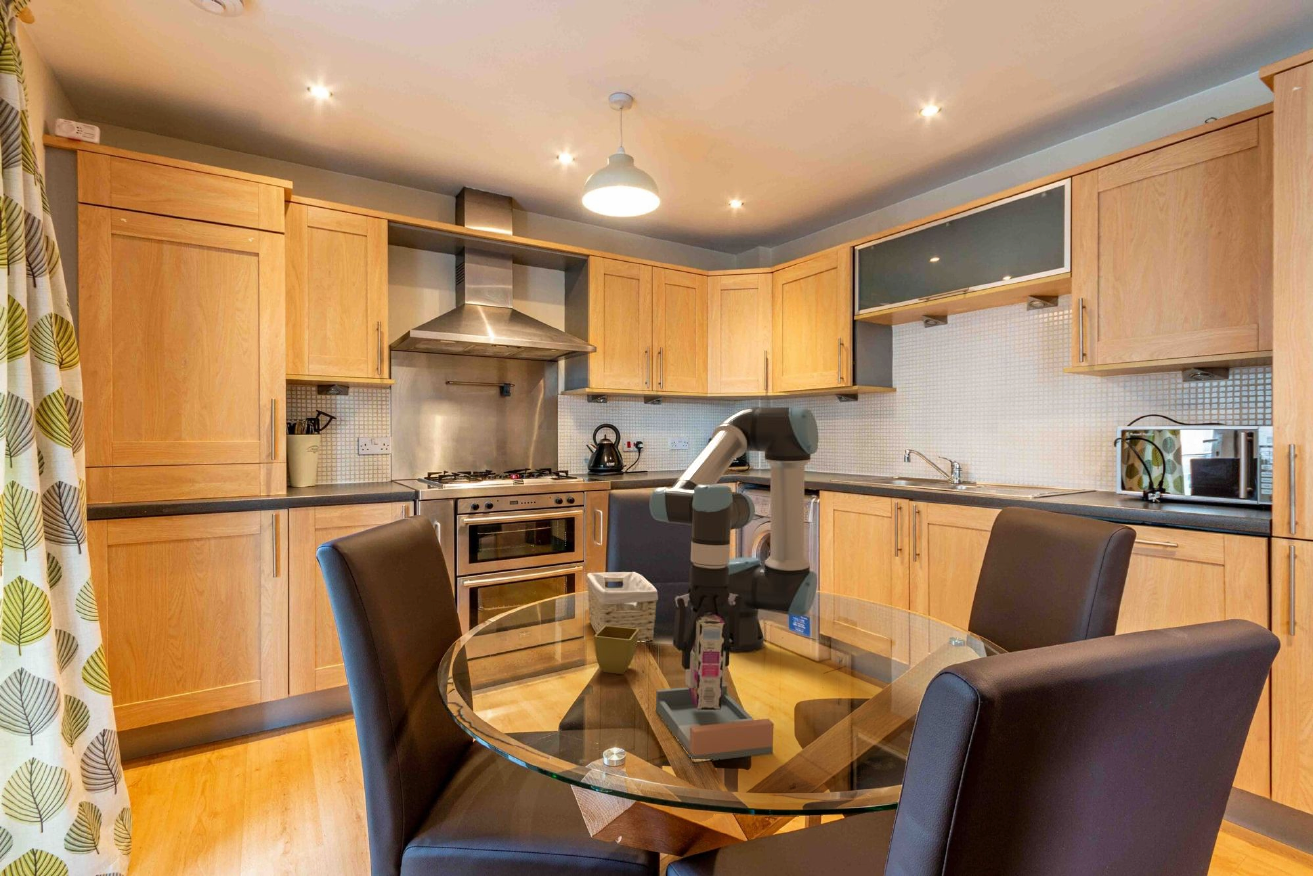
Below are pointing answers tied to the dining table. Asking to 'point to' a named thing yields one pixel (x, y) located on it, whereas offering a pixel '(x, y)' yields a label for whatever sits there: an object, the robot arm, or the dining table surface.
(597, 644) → the flower pot
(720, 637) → the candy bar box
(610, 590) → the storage basket
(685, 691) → the gray drawer tray
